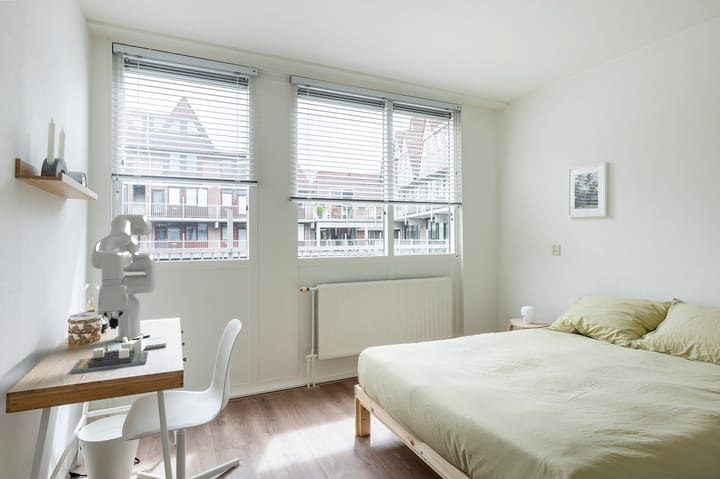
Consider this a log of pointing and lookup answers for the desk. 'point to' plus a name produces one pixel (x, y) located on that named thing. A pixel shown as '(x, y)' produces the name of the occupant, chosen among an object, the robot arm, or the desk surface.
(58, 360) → the desk surface
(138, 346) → the bracket
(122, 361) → the breaker panel
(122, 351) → the breaker handle
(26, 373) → the desk surface
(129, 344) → the block
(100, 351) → the handle
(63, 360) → the desk surface
